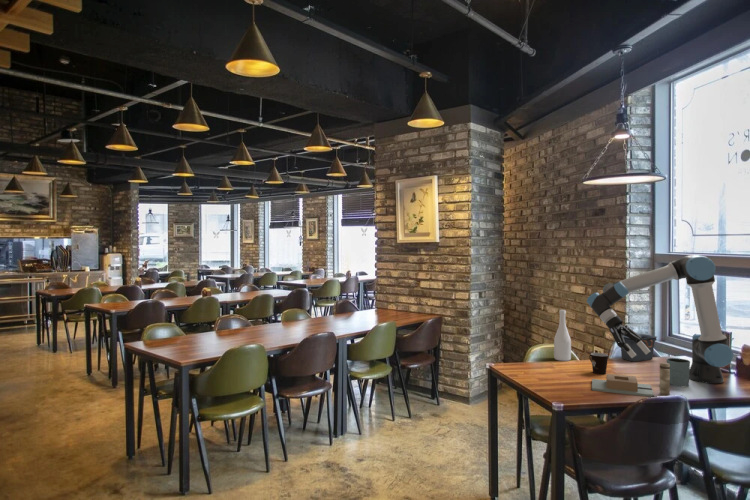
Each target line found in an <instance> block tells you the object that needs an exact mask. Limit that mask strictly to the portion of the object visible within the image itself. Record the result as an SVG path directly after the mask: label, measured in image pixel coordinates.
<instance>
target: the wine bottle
mask: <svg viewBox="0 0 750 500" xmlns="http://www.w3.org/2000/svg"><path fill="white" fill-rule="evenodd" d="M558 312H559V313H558V314H559V323H558V327H557V330H556V332H555V336H554V339H553V357H554V360H556V361H558V362H559V361H560V362H561V361H562V362H568V361H570V360H571V359H572V340H571V336H570V333H569V330H568V327H567V324H566V323H567V322H566V314H567V311H566V309H559V311H558Z"/></svg>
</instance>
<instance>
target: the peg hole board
mask: <svg viewBox="0 0 750 500" xmlns="http://www.w3.org/2000/svg"><path fill="white" fill-rule="evenodd" d="M605 376H606V377H605V378H606V379H596V378H591V391H594V392H604V393H614V394H622V395H623V394H624V395H631V396H641V397H642V396H643V397H650V398H652V397H651V396H654V397H655V393H654V391H653V389H652V384H645V383H638V380H637V376H634V375H625V374H614V373H606V374H605Z"/></svg>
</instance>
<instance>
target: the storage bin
mask: <svg viewBox="0 0 750 500" xmlns="http://www.w3.org/2000/svg"><path fill="white" fill-rule="evenodd" d="M637 334H638V335H639V336H640V337H642V339H643V340H641V341H642V342H643V343H644V344H645V345H646V346H647V348H648V349H649V350H650V352H649V353H648V354H645V353H644V352H643V351H642V350H641V348H640V347H639V346H638V345H637V342H635V341H633V340H632V339H630V338H629V337H627V336H624V340H625V343H626V344H628V345H629V346H630V348H631V349H632V350H633V351H634V352H635V353H636V356H635V357H633V358H631V357H630V356H629V354H628V353H627V352H626V351H625V350H624V348H623V347H621V348H620V352H621V354H620V355H621V359H622V360H625V361H629V362H642V361H651V359H652V360H653V358H654V357H653V356H654V348H655V342H656V341H657V340H658V339H657V338H658V336H657V335H656V336H655V335H650V334H646V333H637Z"/></svg>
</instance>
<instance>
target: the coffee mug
mask: <svg viewBox="0 0 750 500" xmlns="http://www.w3.org/2000/svg"><path fill="white" fill-rule="evenodd" d="M588 356H589V357H588V358H589V360H590V363H591V366H592V373H593V374H595V375H606V374H607V367H608V359H609V355H608V354H607V353H605V352H604V353H603V352H591V353H590V355H588Z"/></svg>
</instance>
